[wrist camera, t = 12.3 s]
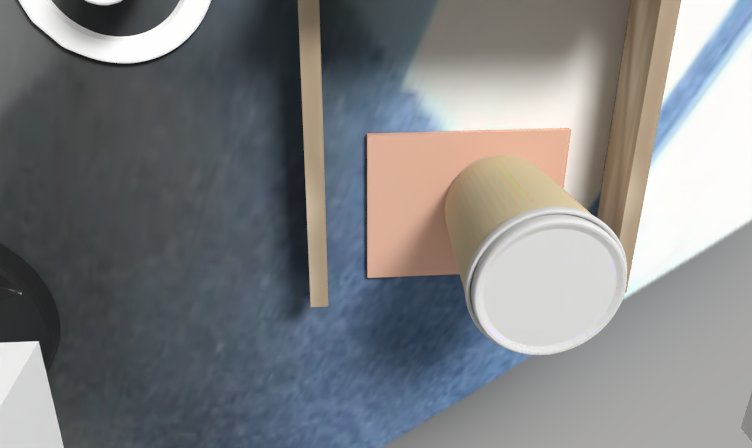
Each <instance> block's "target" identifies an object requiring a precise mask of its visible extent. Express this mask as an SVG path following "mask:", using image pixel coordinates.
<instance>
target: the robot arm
mask: <svg viewBox="0 0 752 448" xmlns="http://www.w3.org/2000/svg"><path fill="white" fill-rule="evenodd" d="M59 338H60V322H59V316H58V311H57V308H56V305H55V302H54V300H53V298H52V296H51V294H50V292H49V290H48V288H47V287H46V285H45V284H44V282H43V281H42V279H41V278H40V277H39V276H38V274H37V273H36V272H35V271H34V270H33V269H32V268H31V267H30V266H29V265H28V264H27V263H26V262H25V261H24V260H23V259H21V258H20V257H19V256H18V255H16V254H15V253H14V252H12V251H11V250H9V249H8V248H6V247H4V246H3V245H1V244H0V448H64V447H63V443H62V438H61V434H60V430H59V426H58V421H57V417H56V413H55V409H54V404H53V400H52V396H51V391H50V387H49V383H48V379H47V374H46V371H47V369H48V368H49V366H50V364H51V362H52V360H53V358H54V356H55V354H56V351H57V348H58V344H59ZM741 429H742V430H743V431H744V432H745V434H746V435H747V436H748V437H749V438H750V440H751V441H752V394H751V397H750V400H749V403H748V407H747V410H746V413H745V416H744V419H743V422H742V425H741Z"/></svg>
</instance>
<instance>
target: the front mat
mask: <svg viewBox="0 0 752 448" xmlns="http://www.w3.org/2000/svg"><path fill="white" fill-rule="evenodd" d="M570 134H571V130H570V129H569V128H560V129H520V130H480V131H440V132H400V133H367V278H381V277H404V276H427V275H450V274H460V273H459V270H458V266H457V263H456V259H455V255H454V252H453V248H452V244H451V240H450V236H449V233H448V229H447V224H446V219H445V201H446V197H447V194H448V191H449V189H450V187H451V185H452V183H453V182H454V180H455V179H456V177H457V176H458V175H459V174H460V173H461V172H462V171H463V170H464V169H465V168H466V167H468V166H469V165H471V164H472V163H474V162H475V161H478V160H480V159H482V158H485V157H489V156H493V155H512V156H517V157H520V158H523V159H526V160H528V161H530V162H531V163H533V164H534V165H535V166H537V167H538V168H539V169H541V170H542V171H543V172H544V173H545V174H547V175H548V176H549V177H550V178H551V179H552V180H553V181H555V182H556V183H557V184H558V185H559V186H560V187H562V188H563V187H564V180H565V172H566V165H567V157H568V149H569V142H570Z"/></svg>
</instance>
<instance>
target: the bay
mask: <svg viewBox="0 0 752 448" xmlns="http://www.w3.org/2000/svg"><path fill="white" fill-rule="evenodd" d="M680 3H681V0H631V4H630V10H629V16H628V23H627V29H626V36H625V42H624V48H623V55H622V61H621V67H620V74H619V80H618V86H617V93H616V99H615V105H614V112H613V118H612V124H611V131H610V137H609V143H608V150H607V156H606V162H605V169H604V175H603V181H602V188H601V194H600V200H599V207H598V213H597V218H598V219H600V220H601V221H602V222H604V223H605V224H606V225H607V226H608V227H609V228H610V229H611V230H612V231H613V232H614V233H615V235H616V236H617V237H618V239H619V241H620V243H621V244H622V247H623V249H624V252H625V256H626V261H627V283H626V289H625V293H626V291H627V286H628V280H629V275H630V270H631V264H632V259H633V254H634V248H635V243H636V238H637V232H638V227H639V222H640V216H641V211H642V206H643V200H644V195H645V190H646V184H647V179H648V174H649V168H650V163H651V158H652V152H653V147H654V142H655V136H656V131H657V126H658V120H659V115H660V110H661V104H662V99H663V94H664V88H665V83H666V78H667V72H668V67H669V62H670V56H671V51H672V46H673V40H674V35H675V30H676V24H677V19H678V14H679V8H680ZM298 20H299V43H300V67H301V90H302V114H303V137H304V161H305V184H306V208H307V232H308V255H309V279H310V302H311V307H323V306H328V281H327V247H326V213H325V179H324V145H323V111H322V78H321V44H320V10H319V0H298Z"/></svg>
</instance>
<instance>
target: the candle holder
mask: <svg viewBox="0 0 752 448" xmlns="http://www.w3.org/2000/svg"><path fill="white" fill-rule="evenodd" d="M85 1H87V2H89V3H92V4H96V5H112V4H116V3H119V2H121V1H123V0H85ZM19 2H20V4H21V5H22V7H23V9H24V10H25V12H26V13H27V15H28V16H29V18H30V19H31V21H32V22H33V23H34V24H36V25H37V26H38V27H39V28H40V29H42V30H43V31H44V32H45V33H46V34H47V35H49V36H50V37H51V38H52V39H53V40H55V41H56V42H57V43H58V44H59V45H61V46H62V47H64V48H66V49H68V50H71V51H73V52H75V53H78V54H81V55H83V56H86V57H89V58H92V59H96V60H100V61H105V62H111V63H137V62H143V61H148V60H151V59H155V58H157V57H160V56H162V55H165V54H167V53H169V52H170V51H172V50H174V49H175V48H177V47H178V46H180V45H181V44H182V43H183V42H184V41H186V40H187V39H188V38H189V37H190V36H191V35H192V33H193V32H194V31H195V30H196V29H197V27H198V26H199V24H200V23H201V21H202V20H203V18H204V16H205V14H206V12H207V10H208V7H209V5H210V2H211V0H180V1H179V3H178V5H177V6H176V8H175V10H174V11H173V12H172V14H171V15H170V16H169V17H168V18H167V19H166V20H165V21H164V22H162V23H161V24H160V25H158V26H157V27H155V28H153V29H152V30H150V31H147V32H145V33H142V34H138V35H134V36H125V37H117V36H108V35H103V34H99V33H96V32H93V31H91V30H88V29H86V28H84V27H82V26H80V25H79V24H77V23H75V22H74V21H72V20H71V19H70V18H68V17H67V16H66V15H65V14H64V13H62V12H61V11H60V10H59V9H58V8H57V6H56V5H55V4H54V3H53V2H52V1H51V0H19Z"/></svg>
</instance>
